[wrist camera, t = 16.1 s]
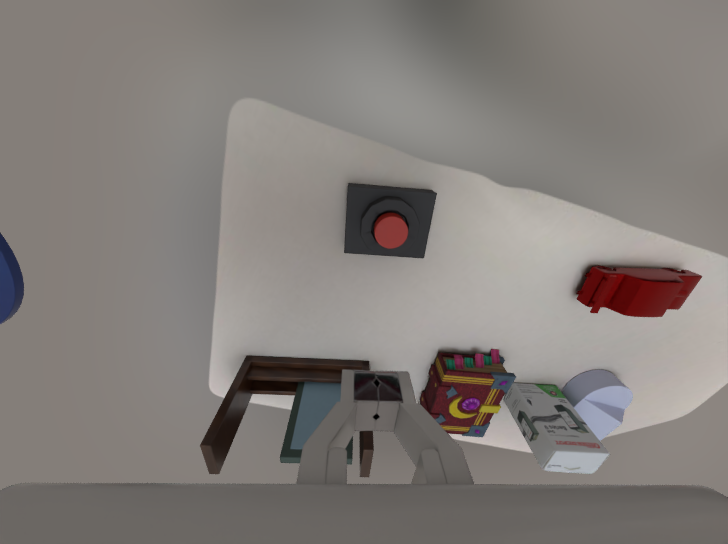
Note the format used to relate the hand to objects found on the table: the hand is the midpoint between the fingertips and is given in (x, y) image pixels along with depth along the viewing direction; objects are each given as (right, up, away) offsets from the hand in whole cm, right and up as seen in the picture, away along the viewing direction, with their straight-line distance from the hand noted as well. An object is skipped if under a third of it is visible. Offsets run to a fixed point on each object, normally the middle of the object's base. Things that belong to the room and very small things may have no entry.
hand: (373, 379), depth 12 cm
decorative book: (+16, -14, +34) cm, 41 cm away
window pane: (-7, -13, +31) cm, 34 cm away
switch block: (+2, +11, +21) cm, 24 cm away
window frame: (-10, -12, +32) cm, 36 cm away
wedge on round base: (+40, -18, +37) cm, 57 cm away
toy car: (+37, +4, +26) cm, 45 cm away
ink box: (+30, -17, +36) cm, 50 cm away
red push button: (+3, +10, +18) cm, 20 cm away
